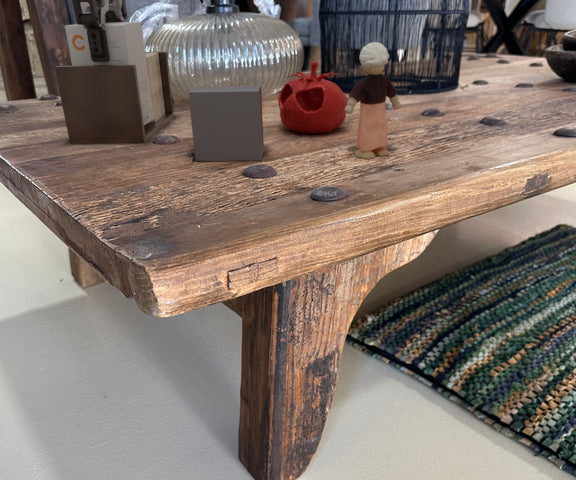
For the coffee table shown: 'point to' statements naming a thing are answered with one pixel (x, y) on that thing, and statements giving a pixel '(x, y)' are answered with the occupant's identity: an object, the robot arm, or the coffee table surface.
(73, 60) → the small box
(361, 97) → the grandmother figurine
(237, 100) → the matte grey upright block
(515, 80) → the coffee table surface
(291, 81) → the hollow red tomato
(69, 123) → the book rack
